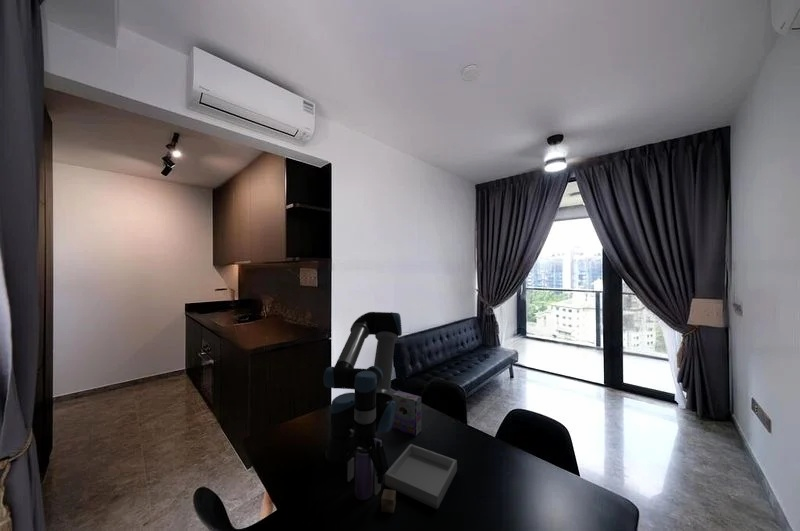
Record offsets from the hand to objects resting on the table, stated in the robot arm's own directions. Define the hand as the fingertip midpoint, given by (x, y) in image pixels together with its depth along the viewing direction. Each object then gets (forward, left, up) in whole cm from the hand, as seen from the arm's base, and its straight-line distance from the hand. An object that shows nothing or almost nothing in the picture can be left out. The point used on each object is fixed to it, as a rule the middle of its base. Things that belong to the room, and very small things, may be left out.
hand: (363, 485), depth 93 cm
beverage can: (0, 0, -3) cm, 3 cm away
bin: (+14, +17, -3) cm, 22 cm away
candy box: (-6, +42, -3) cm, 43 cm away
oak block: (+10, 0, -3) cm, 10 cm away
